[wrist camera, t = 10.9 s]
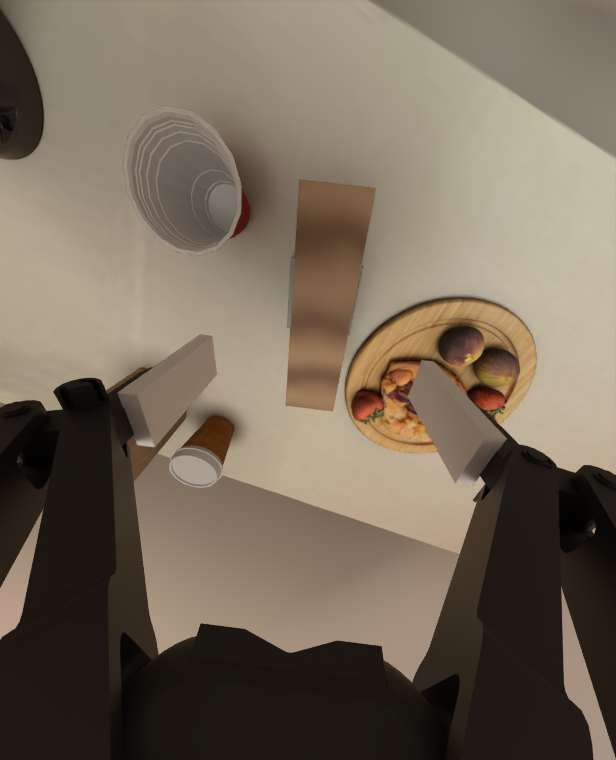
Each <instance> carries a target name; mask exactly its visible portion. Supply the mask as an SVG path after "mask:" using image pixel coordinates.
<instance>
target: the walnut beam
mask: <svg viewBox="0 0 616 760" xmlns="http://www.w3.org/2000/svg"><path fill="white" fill-rule="evenodd" d="M375 190H376V188H370V187H361V186H352V185H343V184H334V183H325V182H316V181H308V180H299V197H298V213H297V229H296V246H295V262H294V278H293V295H292V311H291V327H290V344H289V360H288V376H287V393H286V406H294V407H302V408H310V409H319V410H327V411H333V409H334V403H335V398H336V393H337V388H338V383H339V377H340V372H341V367H342V362H343V357H344V351H345V346H346V341H347V336H348V331H349V325H350V320H351V315H352V310H353V305H354V299H355V294H356V289H357V284H358V279H359V273H360V268H361V263H362V258H363V253H364V247H365V242H366V237H367V232H368V227H369V221H370V216H371V211H372V206H373V201H374V195H375Z"/></svg>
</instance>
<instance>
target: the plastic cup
mask: <svg viewBox="0 0 616 760" xmlns="http://www.w3.org/2000/svg"><path fill="white" fill-rule="evenodd" d="M123 169H124V175H125V182H126V188H127V194H128V196H129V198H130V200H131V202H132V204H133V207H134V209H135V211H136V213H137V215H138V217H139V219H140V221H141V222H142V223H143V224H144V225H145V227H146V228H147V229H148V230H149V231H150V232H151V233H152V235H153V236H154V237H155V238H156V239H157V240H158V241H160V242H161V243H163V244H165V245H166V246H168V247H169V248H171V249H173V250H174V251H176V252H178V253H184V254H190V255H196V256H200V255H203V254H206V253H209V252H213V251H216V250H218V249H219V248H220V247H221V246H222V245H223V244H224V243H225V242H226V241H227V240H228V239H230V238H232V237H235V236H236V235H237V234H239V233H240V232H241V231H242V230H243V229H244V228H245V227H246V225H247V222H248V219H249V205H248V202H247V198H246V196H245V194H244V193H243V189H242V186H241V181H240V178H239V175H238V171H237V168H236V164H235V161H234V158H233V155H232V153H231V152H230V150H229V149H228V147H227V145H226V144H225V142H224V141H223V139H222V138H221V136H220V135H219V133H218V132H217V130H216V129H215V128H214V127H213V126H211V125H210V124H209V123H207V122H206V121H205V120H203V119H202V118H201V117H199V116H198V115H196V114H195V113H194V112H192V111H191V110H186V109H180V108H175V107H169V106H163V107H161V108H158V109H156V110H153V111H151V112H149V113H146V114H144V115H142V116H141V118H140V119H139V121H138V122H137V124H136V125H135V126H134V128H133V129H132V131H131V132H130V134H129V135H128V138H127V143H126V149H125V154H124V160H123Z"/></svg>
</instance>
